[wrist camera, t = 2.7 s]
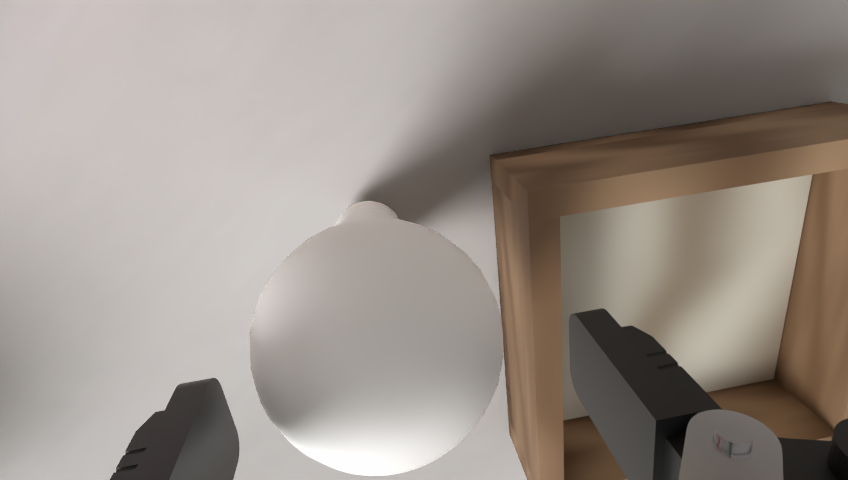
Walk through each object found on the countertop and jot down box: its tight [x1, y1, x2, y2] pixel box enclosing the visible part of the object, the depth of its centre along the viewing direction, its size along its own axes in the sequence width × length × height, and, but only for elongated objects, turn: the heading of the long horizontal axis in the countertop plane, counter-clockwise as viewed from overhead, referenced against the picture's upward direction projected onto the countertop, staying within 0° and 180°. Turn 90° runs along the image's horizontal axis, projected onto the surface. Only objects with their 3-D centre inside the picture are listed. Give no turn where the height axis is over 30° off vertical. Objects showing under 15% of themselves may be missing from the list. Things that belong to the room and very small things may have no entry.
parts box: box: [490, 102, 848, 480], centre depth 21 cm, size 14×14×4 cm
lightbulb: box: [250, 201, 503, 476], centre depth 15 cm, size 6×6×11 cm
